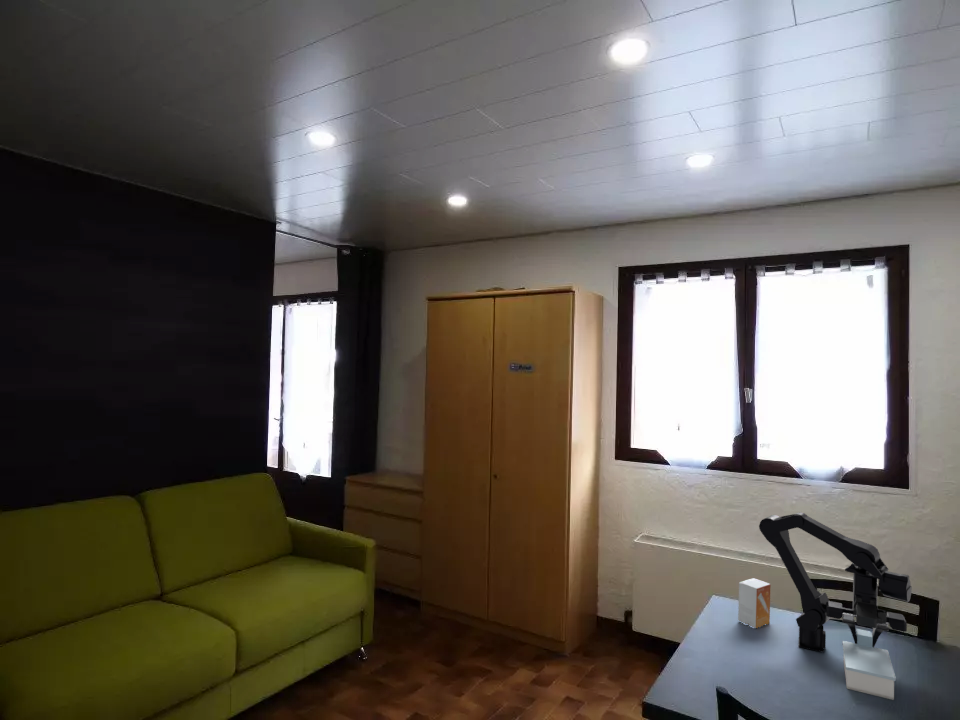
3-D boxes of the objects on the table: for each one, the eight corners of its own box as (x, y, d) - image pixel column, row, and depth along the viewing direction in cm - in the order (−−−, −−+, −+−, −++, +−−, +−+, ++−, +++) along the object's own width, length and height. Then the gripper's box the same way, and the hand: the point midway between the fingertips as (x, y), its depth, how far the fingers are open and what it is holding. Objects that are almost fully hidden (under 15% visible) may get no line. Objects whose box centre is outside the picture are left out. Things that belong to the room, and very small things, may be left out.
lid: (845, 669, 152) (846, 655, 152) (841, 637, 170) (841, 625, 170) (895, 681, 147) (895, 666, 147) (886, 647, 165) (886, 634, 165)
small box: (755, 629, 185) (756, 588, 185) (737, 622, 190) (738, 582, 191) (770, 624, 190) (771, 583, 190) (752, 616, 195) (752, 577, 195)
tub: (846, 688, 152) (847, 669, 152) (843, 661, 166) (843, 643, 166) (893, 700, 147) (894, 680, 147) (886, 671, 161) (886, 653, 161)
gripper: (827, 593, 163) (826, 649, 163) (910, 608, 154) (909, 667, 154) (826, 580, 173) (825, 633, 173) (904, 593, 164) (903, 649, 164)
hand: (864, 646), depth 165 cm, fingers closed on lid, 3 cm apart
